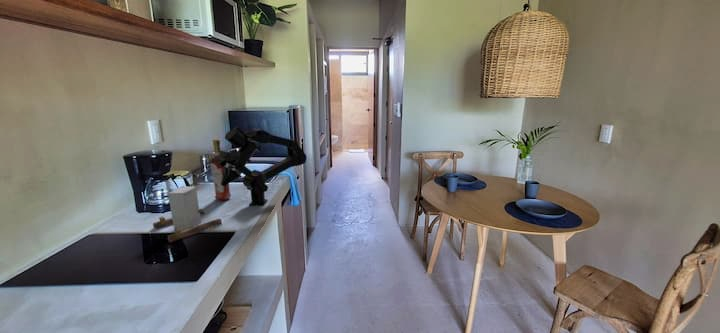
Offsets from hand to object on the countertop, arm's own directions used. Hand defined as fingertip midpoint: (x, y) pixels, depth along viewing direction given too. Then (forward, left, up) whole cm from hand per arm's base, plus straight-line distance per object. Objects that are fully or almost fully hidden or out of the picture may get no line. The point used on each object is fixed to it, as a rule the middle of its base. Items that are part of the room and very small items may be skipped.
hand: (221, 185), depth 123 cm
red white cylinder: (-17, -8, -13) cm, 23 cm away
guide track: (+11, -9, -12) cm, 19 cm away
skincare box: (+11, -9, -13) cm, 19 cm away
